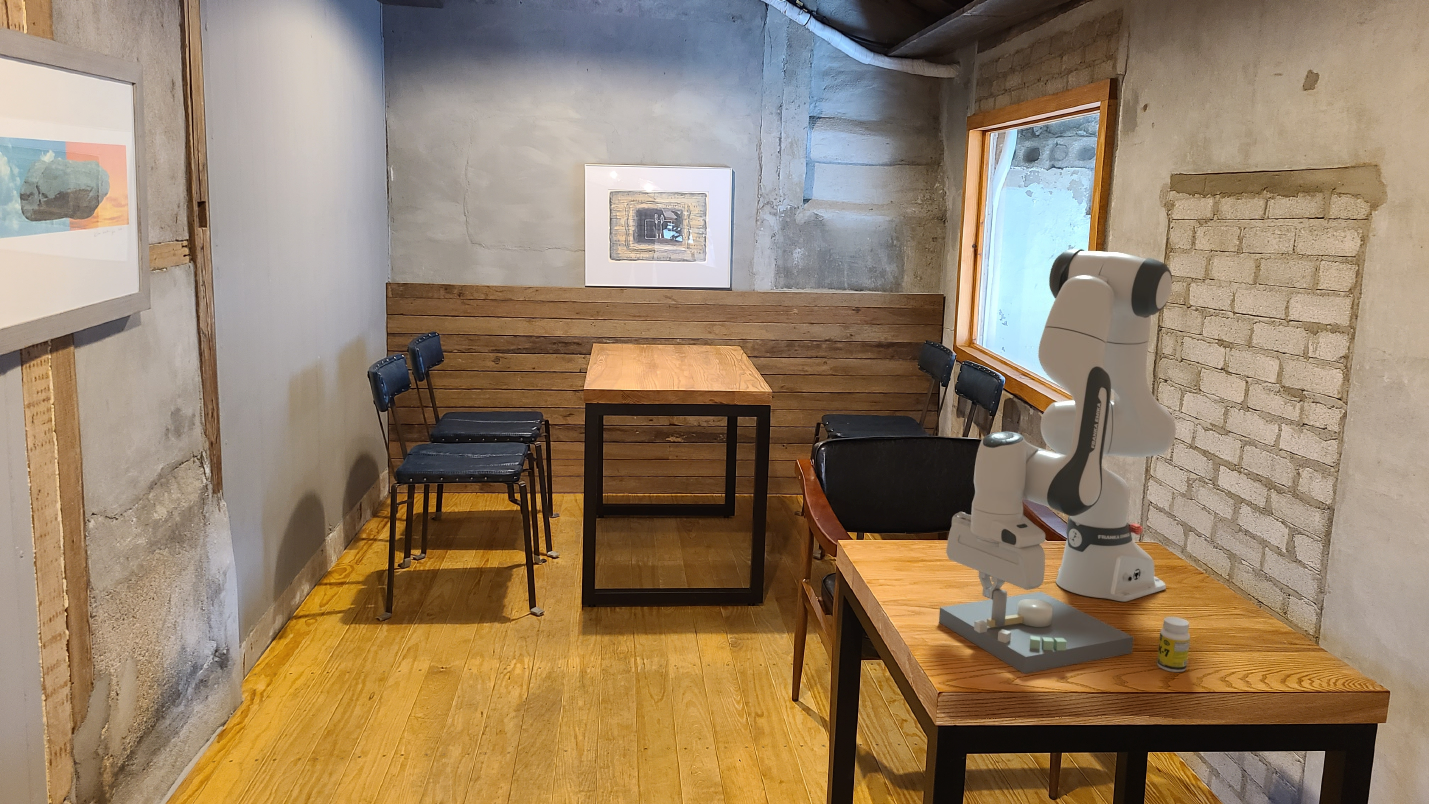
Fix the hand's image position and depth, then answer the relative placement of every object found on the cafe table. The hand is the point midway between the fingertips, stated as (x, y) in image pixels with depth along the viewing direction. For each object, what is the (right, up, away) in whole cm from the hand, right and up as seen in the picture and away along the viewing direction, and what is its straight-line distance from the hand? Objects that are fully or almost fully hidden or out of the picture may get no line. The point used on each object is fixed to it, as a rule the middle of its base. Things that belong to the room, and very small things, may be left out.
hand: (990, 597), depth 197 cm
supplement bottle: (+29, -11, -9) cm, 32 cm away
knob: (+5, -5, 0) cm, 7 cm away
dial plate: (+8, -8, +2) cm, 12 cm away
